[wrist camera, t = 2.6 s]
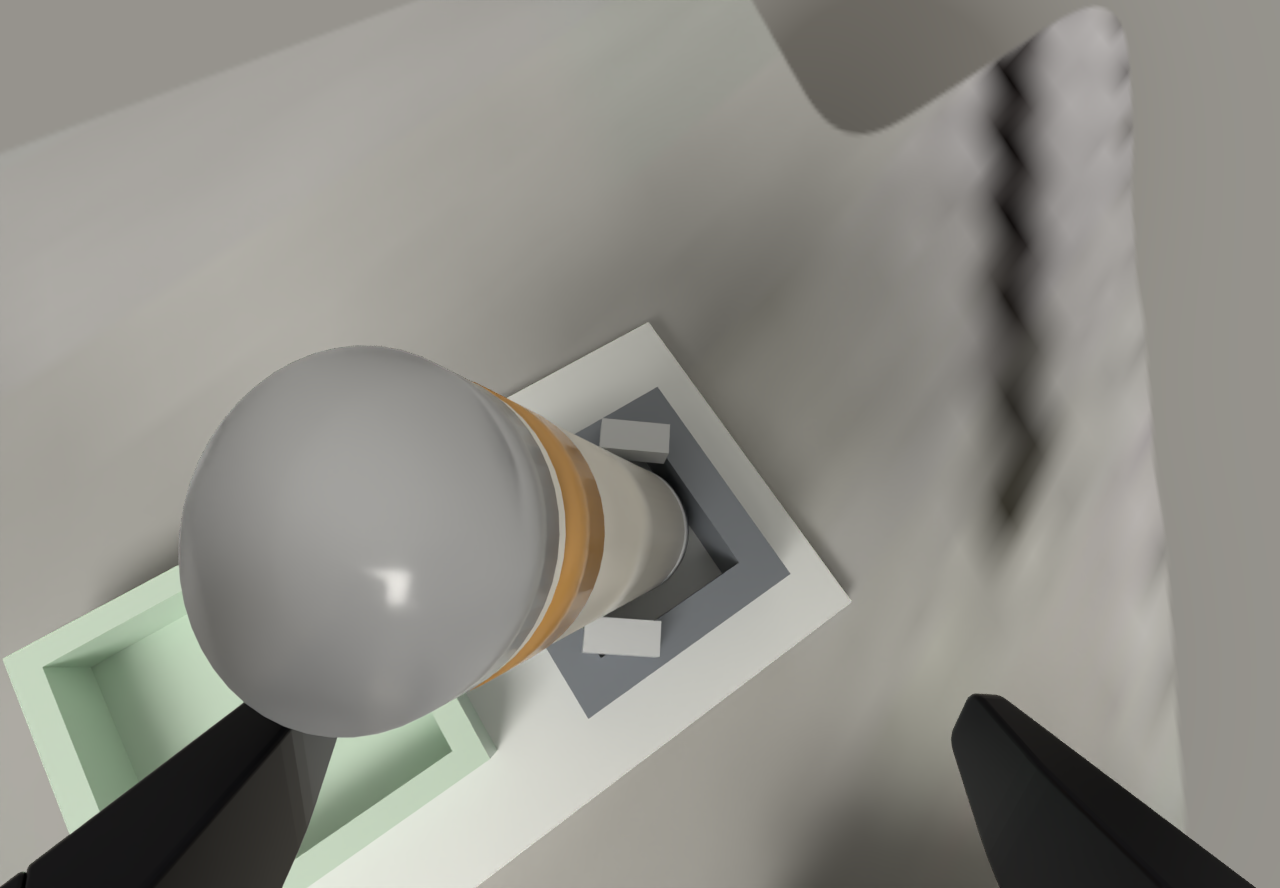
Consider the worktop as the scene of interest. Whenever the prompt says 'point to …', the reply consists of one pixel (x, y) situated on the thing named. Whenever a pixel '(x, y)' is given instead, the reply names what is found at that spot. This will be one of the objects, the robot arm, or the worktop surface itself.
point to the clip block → (716, 522)
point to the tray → (210, 725)
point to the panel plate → (644, 715)
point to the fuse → (403, 540)
